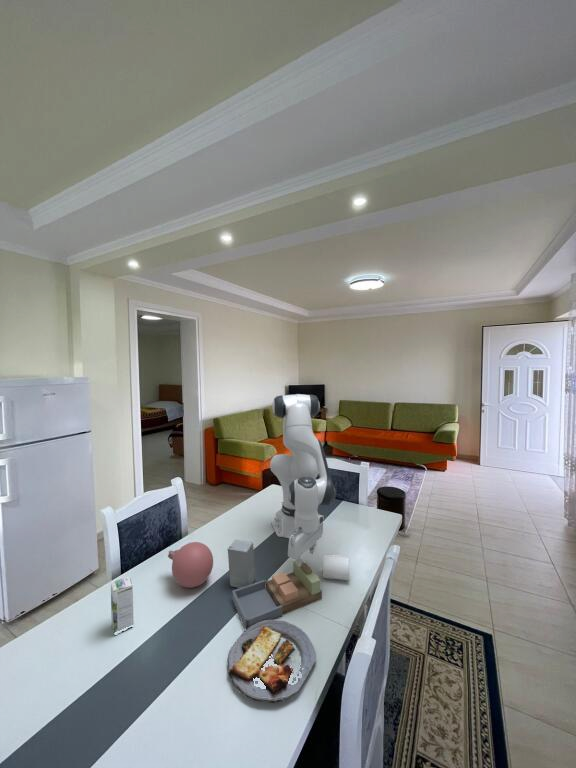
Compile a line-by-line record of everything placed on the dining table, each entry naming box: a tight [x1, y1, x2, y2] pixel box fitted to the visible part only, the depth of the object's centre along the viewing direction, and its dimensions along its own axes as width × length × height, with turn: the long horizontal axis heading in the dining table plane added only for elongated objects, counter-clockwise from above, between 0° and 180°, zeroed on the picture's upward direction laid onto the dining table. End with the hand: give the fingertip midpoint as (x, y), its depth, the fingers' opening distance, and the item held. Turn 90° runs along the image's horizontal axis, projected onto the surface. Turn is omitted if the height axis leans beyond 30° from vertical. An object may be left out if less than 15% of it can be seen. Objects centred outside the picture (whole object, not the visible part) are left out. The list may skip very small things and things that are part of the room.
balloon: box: [167, 541, 214, 589], centre depth 124 cm, size 15×20×15 cm
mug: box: [322, 553, 350, 582], centre depth 128 cm, size 12×10×8 cm
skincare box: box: [227, 539, 257, 589], centre depth 122 cm, size 8×7×16 cm
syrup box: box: [110, 576, 135, 634], centre depth 103 cm, size 6×6×14 cm
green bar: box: [292, 558, 321, 595], centre depth 119 cm, size 14×4×6 cm, turn 27°
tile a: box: [271, 571, 290, 591], centre depth 118 cm, size 5×5×2 cm
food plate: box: [227, 619, 317, 703], centre depth 91 cm, size 25×23×4 cm
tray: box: [231, 579, 283, 629], centre depth 110 cm, size 15×13×4 cm
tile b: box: [279, 582, 298, 602], centre depth 113 cm, size 5×5×2 cm
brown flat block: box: [265, 571, 323, 616], centre depth 117 cm, size 14×16×3 cm
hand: (305, 558), depth 118 cm, fingers open, 8 cm apart
